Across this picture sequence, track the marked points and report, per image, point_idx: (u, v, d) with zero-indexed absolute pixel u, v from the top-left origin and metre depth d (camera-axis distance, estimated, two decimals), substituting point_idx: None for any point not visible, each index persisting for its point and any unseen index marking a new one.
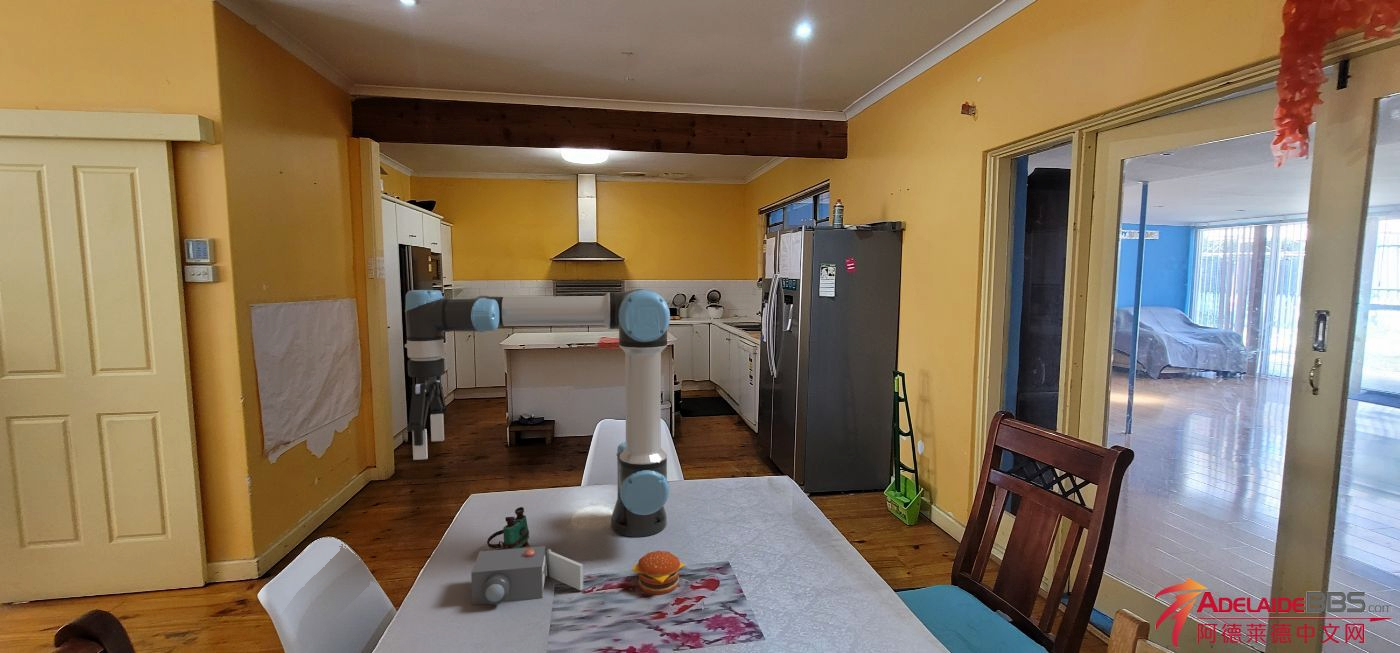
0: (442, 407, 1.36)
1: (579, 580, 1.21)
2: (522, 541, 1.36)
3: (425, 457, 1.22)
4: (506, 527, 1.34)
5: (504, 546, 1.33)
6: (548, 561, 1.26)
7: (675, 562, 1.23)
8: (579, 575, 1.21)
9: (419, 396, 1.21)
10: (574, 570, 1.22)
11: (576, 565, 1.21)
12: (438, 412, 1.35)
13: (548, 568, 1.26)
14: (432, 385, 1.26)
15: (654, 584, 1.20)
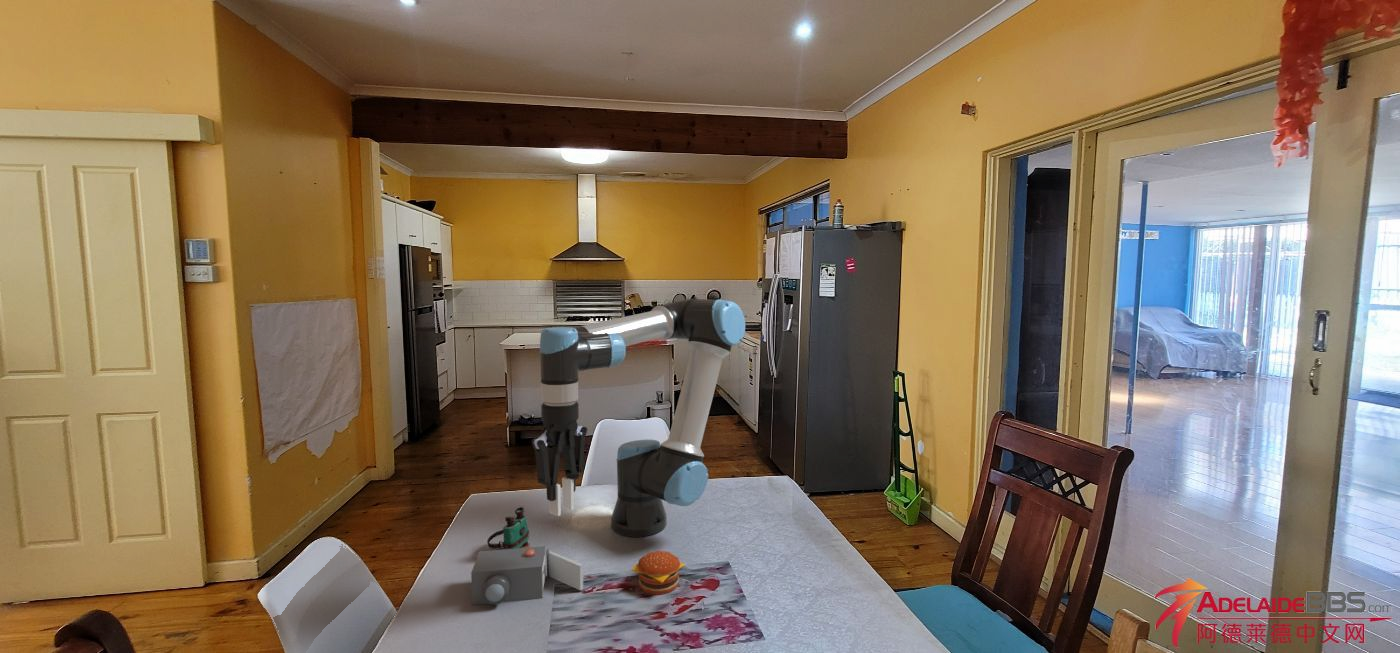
0: (575, 471, 1.19)
1: (579, 580, 1.21)
2: (522, 541, 1.36)
3: (557, 514, 1.16)
4: (506, 527, 1.34)
5: (504, 546, 1.33)
6: (548, 561, 1.26)
7: (675, 562, 1.23)
8: (579, 575, 1.21)
9: (540, 452, 1.12)
10: (574, 570, 1.22)
11: (576, 565, 1.21)
12: (569, 475, 1.19)
13: (548, 568, 1.26)
14: (558, 434, 1.15)
15: (654, 584, 1.20)
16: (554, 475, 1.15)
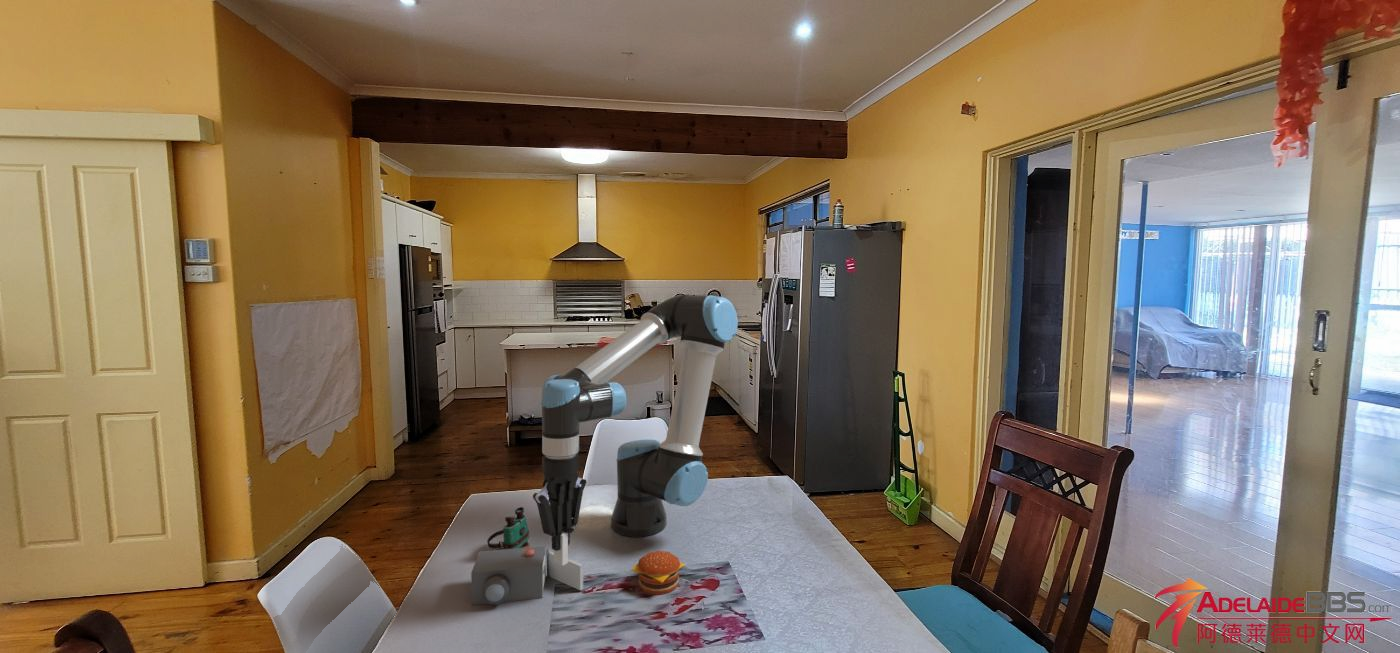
0: (570, 524, 1.19)
1: (579, 580, 1.21)
2: (522, 541, 1.36)
3: (561, 563, 1.18)
4: (506, 527, 1.34)
5: (504, 546, 1.33)
6: (548, 561, 1.26)
7: (675, 562, 1.23)
8: (579, 575, 1.21)
9: (542, 506, 1.14)
10: (574, 570, 1.22)
11: (576, 565, 1.21)
12: (564, 528, 1.19)
13: (548, 568, 1.26)
14: (559, 487, 1.15)
15: (654, 584, 1.20)
16: (558, 526, 1.16)
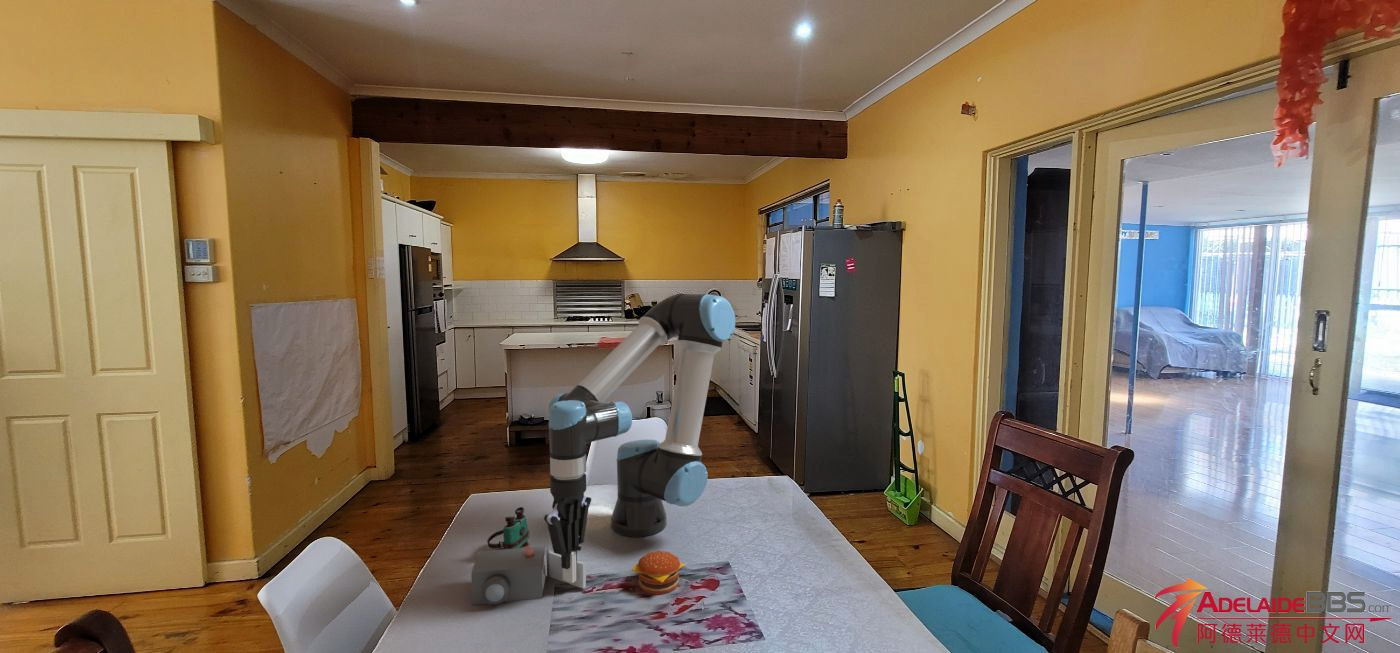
0: (577, 542, 1.21)
1: (582, 579, 1.22)
2: (522, 541, 1.36)
3: (571, 581, 1.20)
4: (506, 527, 1.34)
5: (504, 546, 1.33)
6: (548, 561, 1.26)
7: (675, 562, 1.23)
8: (582, 573, 1.21)
9: (553, 527, 1.15)
10: (576, 569, 1.22)
11: (579, 564, 1.22)
12: (571, 546, 1.21)
13: (548, 568, 1.26)
14: (568, 507, 1.17)
15: (654, 584, 1.20)
16: (568, 545, 1.19)
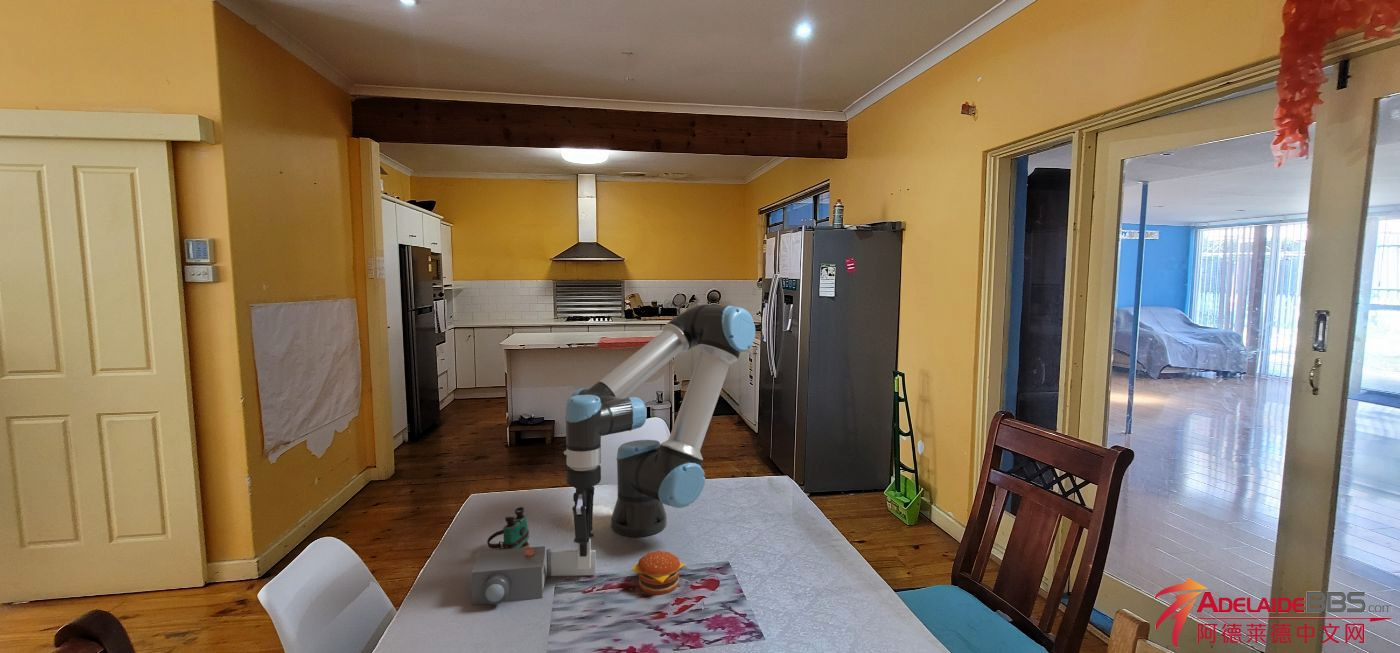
0: (590, 530, 1.27)
1: (594, 565, 1.27)
2: (522, 541, 1.36)
3: (588, 567, 1.26)
4: (506, 527, 1.34)
5: (504, 546, 1.33)
6: (550, 561, 1.27)
7: (675, 562, 1.23)
8: (594, 560, 1.27)
9: (581, 516, 1.20)
10: None
11: None
12: None
13: (550, 568, 1.27)
14: (589, 496, 1.23)
15: (654, 584, 1.20)
16: (588, 532, 1.24)
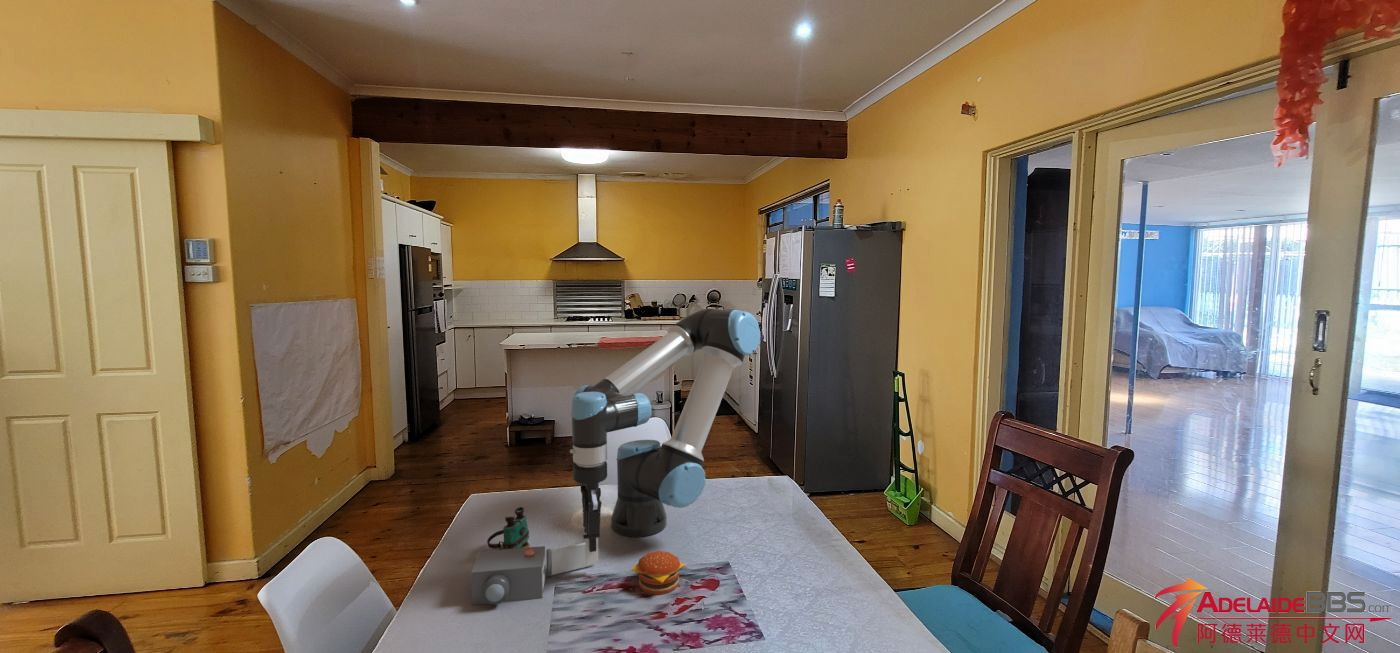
0: None
1: None
2: (522, 541, 1.36)
3: (597, 561, 1.27)
4: (506, 527, 1.34)
5: (504, 546, 1.33)
6: (550, 560, 1.27)
7: (675, 562, 1.23)
8: None
9: (596, 512, 1.22)
10: None
11: None
12: None
13: (550, 567, 1.27)
14: (599, 491, 1.25)
15: (654, 584, 1.20)
16: None
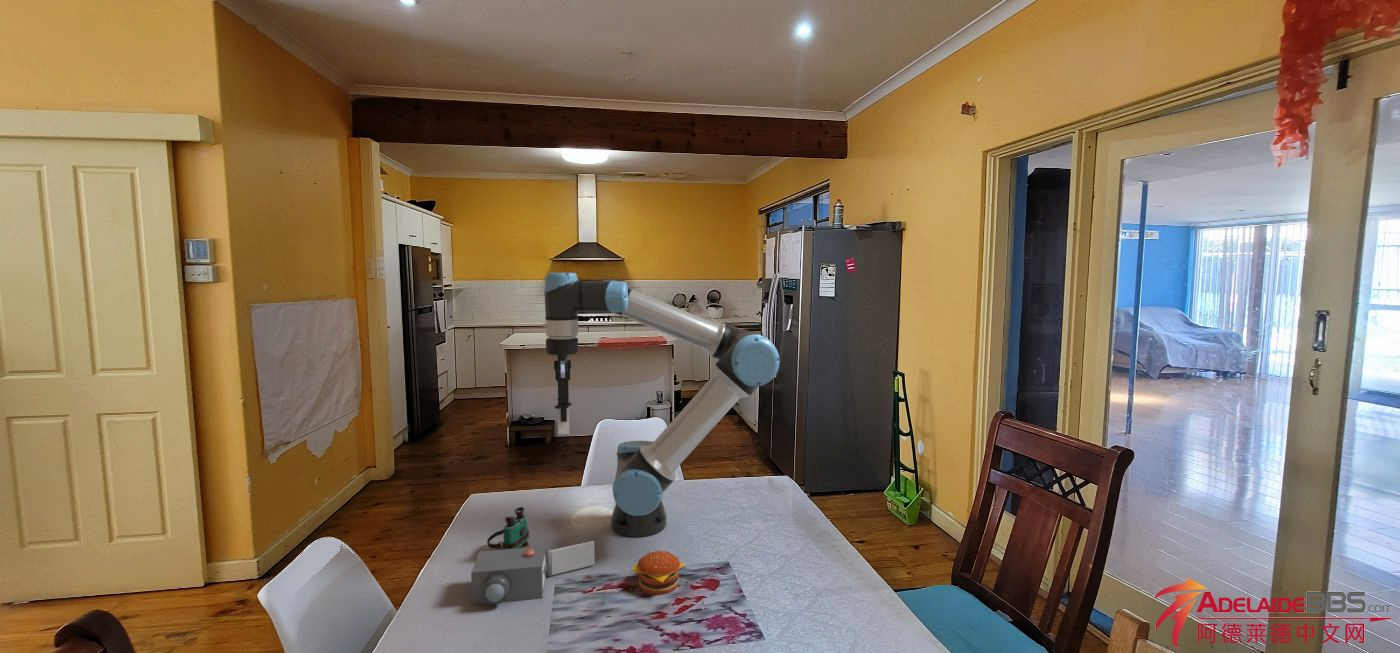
0: None
1: (593, 556, 1.31)
2: (522, 541, 1.36)
3: (568, 432, 1.36)
4: (506, 527, 1.34)
5: (504, 546, 1.33)
6: (550, 560, 1.27)
7: (675, 562, 1.23)
8: (593, 551, 1.31)
9: (564, 380, 1.30)
10: (587, 550, 1.30)
11: (589, 544, 1.31)
12: None
13: (550, 567, 1.27)
14: (569, 364, 1.33)
15: (654, 584, 1.20)
16: None
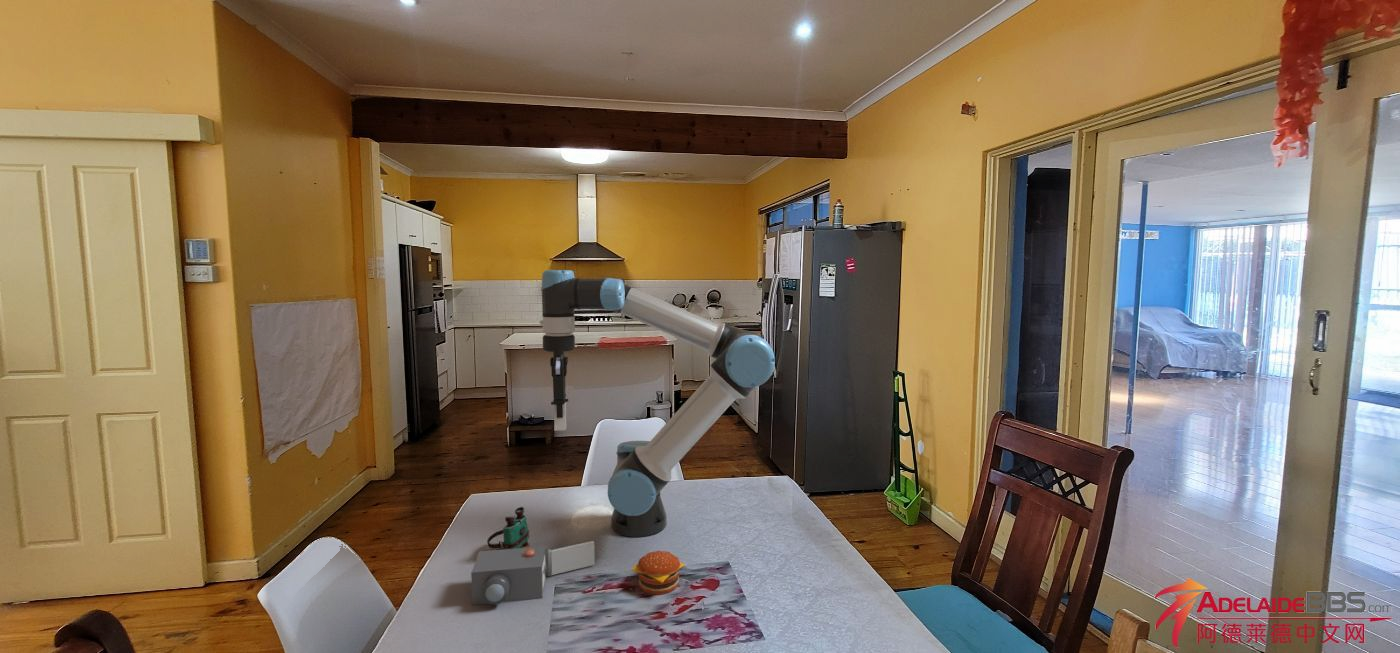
0: None
1: (593, 556, 1.31)
2: (522, 541, 1.36)
3: (564, 428, 1.37)
4: (506, 527, 1.34)
5: (504, 546, 1.33)
6: (550, 560, 1.27)
7: (675, 562, 1.23)
8: (593, 551, 1.31)
9: (559, 376, 1.31)
10: (587, 550, 1.30)
11: (589, 544, 1.31)
12: None
13: (550, 567, 1.27)
14: (565, 361, 1.34)
15: (654, 584, 1.20)
16: (564, 395, 1.35)
